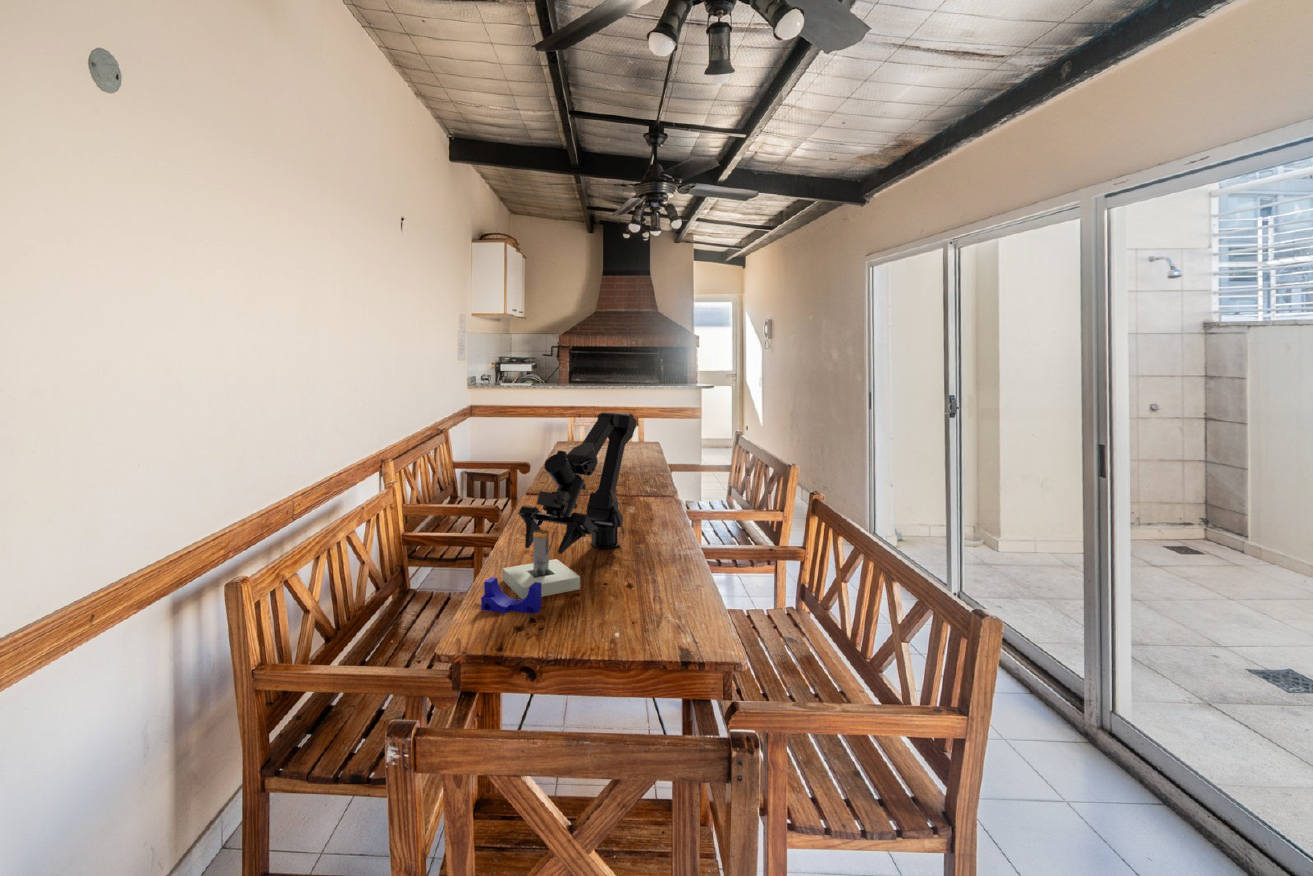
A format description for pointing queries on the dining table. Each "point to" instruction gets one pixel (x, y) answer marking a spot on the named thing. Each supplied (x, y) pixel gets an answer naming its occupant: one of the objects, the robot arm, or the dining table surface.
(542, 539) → the steel pin
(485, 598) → the blue cradle bracket
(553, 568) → the block
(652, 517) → the dining table surface
